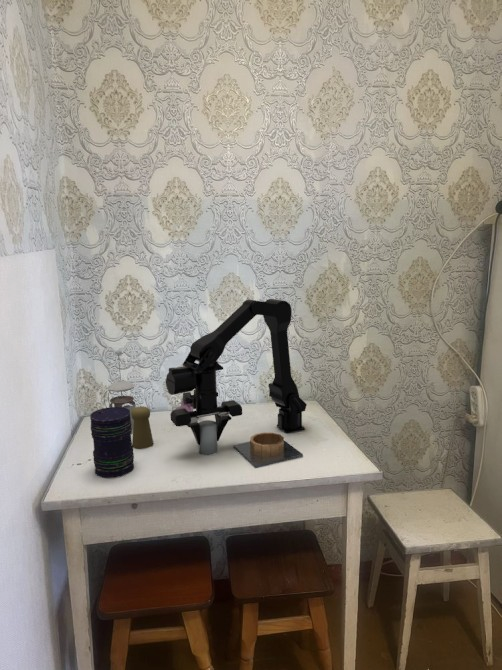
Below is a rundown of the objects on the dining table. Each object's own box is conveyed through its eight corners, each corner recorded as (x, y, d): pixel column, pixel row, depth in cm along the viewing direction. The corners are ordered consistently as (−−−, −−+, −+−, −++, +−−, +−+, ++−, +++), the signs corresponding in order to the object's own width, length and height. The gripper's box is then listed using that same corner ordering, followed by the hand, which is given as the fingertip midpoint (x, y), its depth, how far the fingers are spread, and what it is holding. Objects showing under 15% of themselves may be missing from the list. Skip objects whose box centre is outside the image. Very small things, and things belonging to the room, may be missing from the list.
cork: (143, 438, 147) (141, 402, 145) (158, 443, 144) (155, 406, 142) (127, 445, 143) (124, 408, 140) (142, 450, 139) (139, 412, 137)
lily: (210, 417, 167) (198, 390, 168) (215, 414, 156) (202, 386, 157) (177, 433, 164) (165, 406, 165) (179, 432, 152) (166, 403, 153)
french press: (124, 437, 148) (118, 355, 143) (96, 431, 154) (89, 351, 149) (147, 426, 157) (141, 348, 152) (119, 420, 162) (113, 344, 158)
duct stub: (213, 446, 141) (212, 419, 140) (220, 452, 137) (219, 425, 135) (196, 449, 139) (195, 422, 137) (202, 456, 135) (201, 428, 133)
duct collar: (277, 438, 146) (277, 425, 145) (302, 456, 133) (302, 443, 132) (233, 447, 140) (232, 434, 139) (254, 468, 127) (254, 453, 127)
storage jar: (141, 462, 132) (137, 408, 129) (123, 479, 123) (119, 421, 120) (106, 459, 134) (102, 405, 131) (86, 476, 125) (81, 419, 122)
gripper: (226, 375, 145) (228, 426, 148) (163, 384, 138) (166, 438, 141) (242, 385, 135) (243, 440, 138) (175, 396, 128) (178, 453, 131)
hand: (208, 442), depth 137 cm, fingers closed on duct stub, 5 cm apart
